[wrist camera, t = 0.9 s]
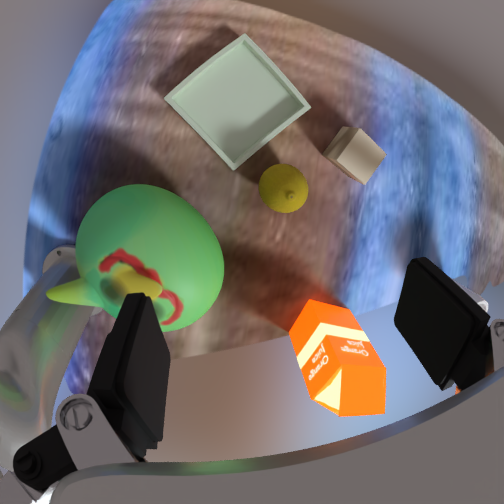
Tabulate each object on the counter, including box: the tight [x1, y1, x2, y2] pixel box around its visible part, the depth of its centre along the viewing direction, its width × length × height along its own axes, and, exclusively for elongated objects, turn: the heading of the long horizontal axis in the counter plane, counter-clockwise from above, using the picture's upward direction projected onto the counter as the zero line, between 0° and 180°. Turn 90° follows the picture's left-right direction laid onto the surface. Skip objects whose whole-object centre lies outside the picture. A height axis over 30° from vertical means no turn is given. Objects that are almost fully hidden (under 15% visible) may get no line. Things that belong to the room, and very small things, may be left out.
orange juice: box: [289, 299, 386, 417], centre depth 38 cm, size 8×9×20 cm
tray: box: [164, 34, 311, 171], centre depth 29 cm, size 12×12×2 cm
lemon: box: [259, 164, 308, 213], centre depth 32 cm, size 6×6×8 cm
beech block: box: [322, 126, 387, 185], centre depth 32 cm, size 5×5×5 cm
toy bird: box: [46, 184, 224, 332], centre depth 30 cm, size 18×17×15 cm
